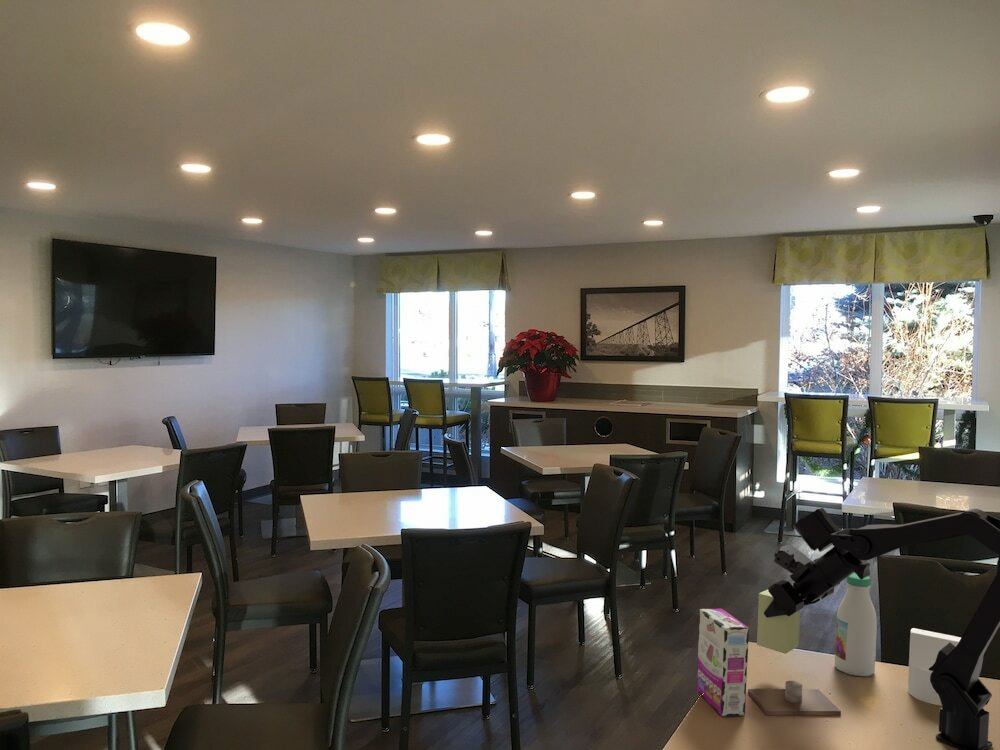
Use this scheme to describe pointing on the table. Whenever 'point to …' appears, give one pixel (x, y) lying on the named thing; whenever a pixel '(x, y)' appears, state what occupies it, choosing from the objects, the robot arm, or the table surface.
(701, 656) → the candy bar box
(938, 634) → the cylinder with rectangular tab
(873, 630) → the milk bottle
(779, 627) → the pale green upright block
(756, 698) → the walnut stud board
